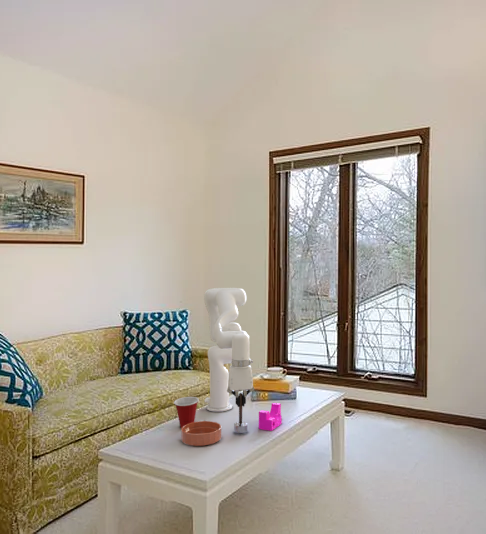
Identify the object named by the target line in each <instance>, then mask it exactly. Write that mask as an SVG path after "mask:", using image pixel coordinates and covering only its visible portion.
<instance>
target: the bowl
mask: <svg viewBox="0 0 486 534" xmlns="http://www.w3.org/2000/svg"><path fill="white" fill-rule="evenodd" d="M221 439H222V424H220V423H219V422H216V421H211V420H198V421H194V422H192V423H189V424H186V425H184V426H183V427H182V428H181V427H180V441H181V442H182V443H183V444H186V445H187V446H192V447H193V446H194V447H203V446H210V445H213V444H215V443H217V442H219V441H220V440H221Z"/></svg>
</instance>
